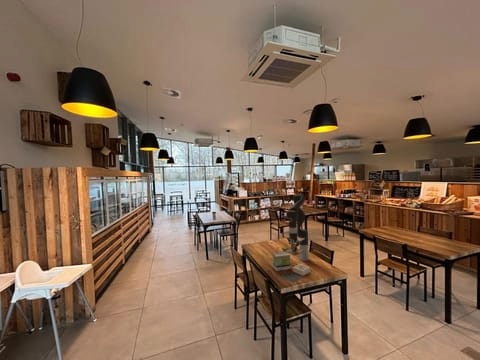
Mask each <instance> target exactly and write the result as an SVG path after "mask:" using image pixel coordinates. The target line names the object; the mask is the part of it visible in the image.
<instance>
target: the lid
mask: <svg viewBox="0 0 480 360" xmlns="http://www.w3.org/2000/svg"><path fill="white" fill-rule="evenodd" d="M284 252H287V253H288V254H289V255H292V256H297V255H298V256H299V254H300V253H302V252H304V251H303V250H300V248H297V250H296V251H295V246H294V243H293V244H292V249H291V247H290V248H289V249H286V250H284Z"/></svg>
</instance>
